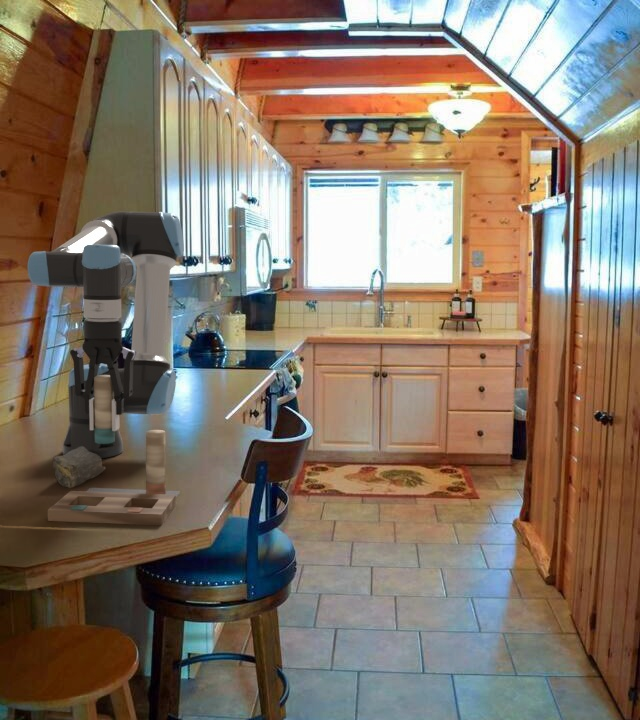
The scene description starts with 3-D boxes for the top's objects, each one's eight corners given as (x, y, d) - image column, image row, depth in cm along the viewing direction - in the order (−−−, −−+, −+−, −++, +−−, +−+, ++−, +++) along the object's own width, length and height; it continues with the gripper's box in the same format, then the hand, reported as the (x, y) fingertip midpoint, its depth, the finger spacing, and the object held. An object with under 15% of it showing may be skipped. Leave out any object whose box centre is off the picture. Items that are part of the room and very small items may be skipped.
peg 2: (148, 492, 161) (148, 429, 159) (167, 493, 161) (167, 430, 159) (143, 498, 157) (143, 433, 155) (162, 499, 157) (162, 434, 155)
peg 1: (98, 438, 160) (97, 374, 158) (117, 439, 160) (116, 375, 158) (92, 443, 156) (90, 377, 154) (111, 444, 156) (110, 378, 154)
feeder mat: (90, 489, 163) (90, 487, 163) (180, 492, 163) (180, 491, 163) (77, 501, 155) (77, 499, 155) (172, 504, 155) (172, 502, 155)
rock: (94, 471, 161) (49, 459, 160) (87, 500, 162) (42, 488, 161) (113, 449, 178) (72, 438, 177) (106, 475, 179) (65, 464, 178)
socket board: (70, 502, 154) (70, 489, 154) (175, 506, 154) (175, 493, 153) (47, 522, 143) (47, 508, 142) (161, 526, 142) (161, 513, 142)
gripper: (55, 320, 151) (58, 432, 154) (138, 322, 150) (139, 435, 154) (68, 316, 158) (71, 423, 162) (148, 319, 158) (149, 426, 161)
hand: (104, 428), depth 158 cm, fingers closed on peg 1, 4 cm apart
